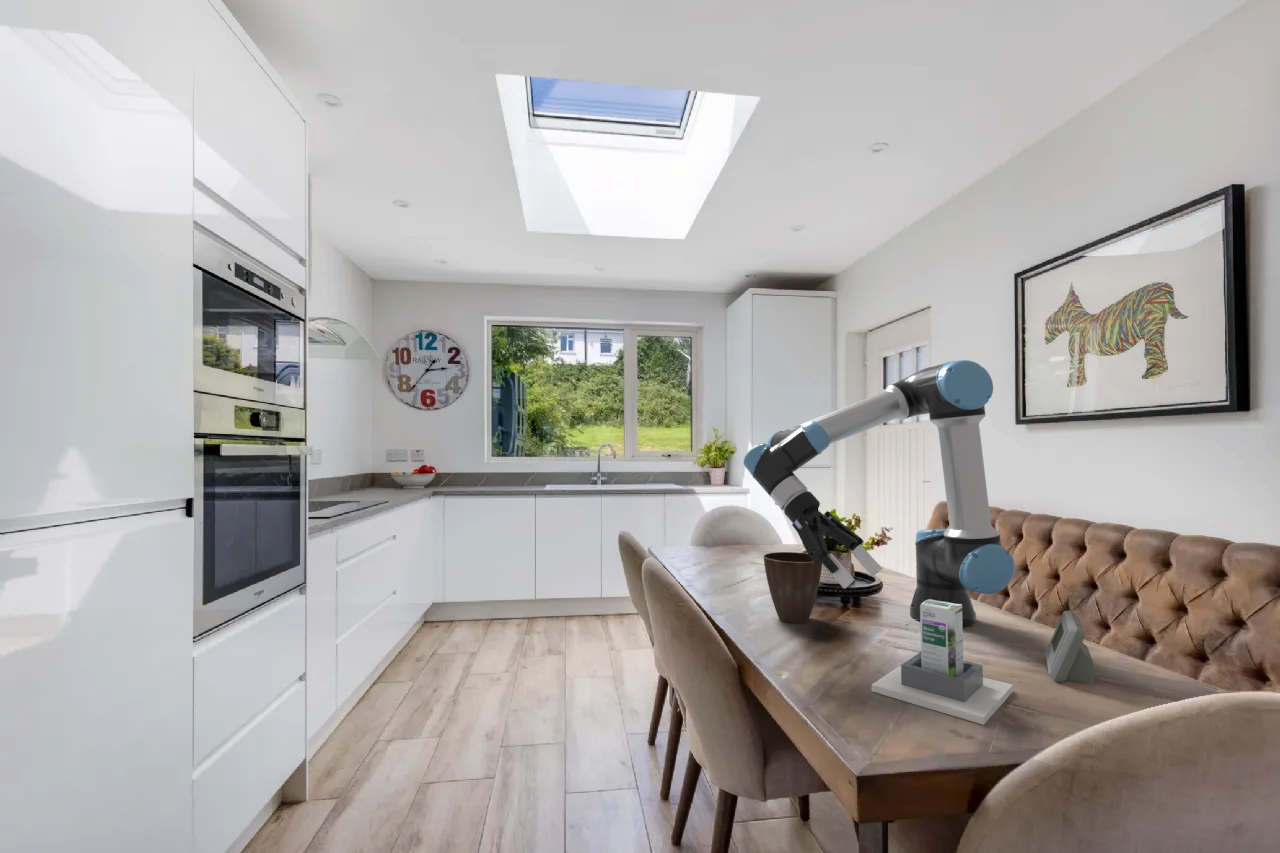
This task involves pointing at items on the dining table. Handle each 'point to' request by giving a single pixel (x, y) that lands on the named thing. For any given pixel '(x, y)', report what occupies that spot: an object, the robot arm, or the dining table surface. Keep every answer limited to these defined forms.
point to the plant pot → (792, 584)
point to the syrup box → (941, 637)
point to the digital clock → (1069, 652)
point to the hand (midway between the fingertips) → (864, 578)
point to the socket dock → (946, 690)
